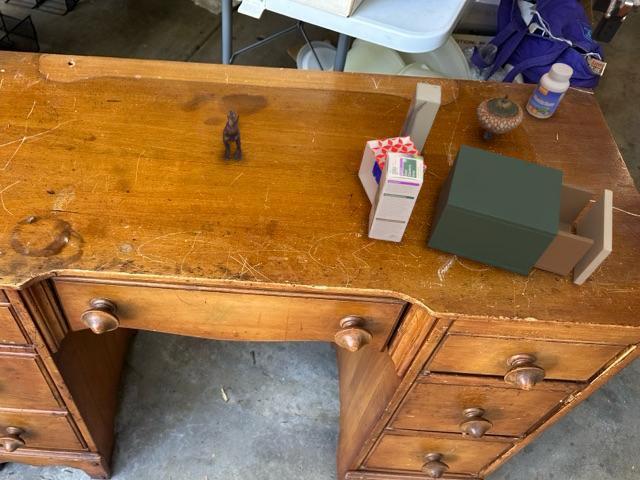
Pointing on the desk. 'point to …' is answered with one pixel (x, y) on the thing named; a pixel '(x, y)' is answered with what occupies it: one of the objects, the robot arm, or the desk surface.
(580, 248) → the drawer
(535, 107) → the pill bottle
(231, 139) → the dinosaur model
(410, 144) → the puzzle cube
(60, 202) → the desk surface
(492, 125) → the acorn
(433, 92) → the box
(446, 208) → the cabinet
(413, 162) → the syrup box
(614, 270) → the desk surface
